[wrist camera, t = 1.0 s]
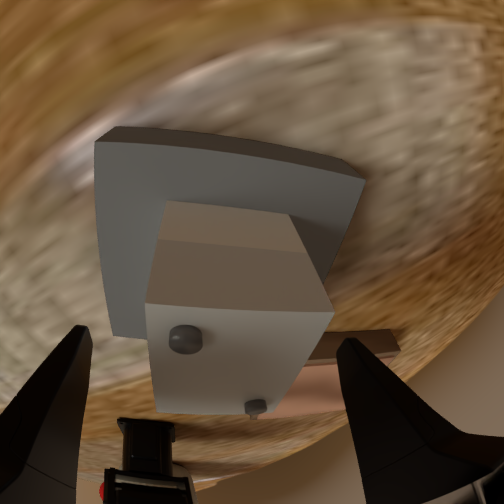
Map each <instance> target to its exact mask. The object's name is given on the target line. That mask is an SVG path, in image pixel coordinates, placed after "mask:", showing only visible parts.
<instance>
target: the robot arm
mask: <svg viewBox="0 0 504 504" xmlns="http://www.w3.org/2000/svg"><path fill="white" fill-rule="evenodd" d="M92 348H93V343H92V339H91V335H90V332H89V329H88V327H87V326H83V325H75V326H74V327H73V328H72V329H71V331H70V332H69V333H68V334H67V335H66V336H65V337H64V338H63V339H62V341H61V342H60V343H59V344H58V345H57V346H56V347H55V349H54V350H53V351H52V352H51V353H50V354H49V355H48V357H47V358H46V359H45V360H44V361H43V363H42V364H41V365H40V366H39V367H38V368H37V370H36V371H35V372H34V373H33V375H32V376H31V377H30V378H29V379H28V381H27V382H26V383H25V384H24V386H23V387H22V388H21V389H20V391H19V392H18V393H17V396H15V397H14V398H13V400H12V401H11V402H10V403H9V405H8V406H7V407H6V408H5V410H4V411H3V412H2V413H1V414H0V504H76V482H77V468H78V457H79V447H80V439H81V431H82V424H83V417H84V411H85V405H86V400H87V394H88V388H89V378H90V366H91V357H92ZM336 360H337V366H338V373H339V380H340V386H341V392H342V396H343V400H344V404H345V408H346V412H347V416H348V420H349V424H350V428H351V433H352V437H353V441H354V446H355V450H356V454H357V459H358V463H359V469H360V473H361V477H362V484H363V489H364V494H365V498H366V504H504V437H496V436H486V435H485V436H484V435H476V434H468V433H465V432H463V431H461V430H459V429H457V428H456V427H455V426H453V425H452V424H451V423H450V422H448V421H447V420H446V419H445V418H443V417H442V416H441V415H439V414H438V413H437V412H436V411H434V410H433V409H432V408H431V407H430V406H429V405H428V404H427V403H426V402H424V401H423V400H422V399H421V398H420V397H419V396H417V394H416V393H415V392H414V391H413V390H412V389H411V388H409V387H408V386H407V385H406V384H405V383H404V382H403V381H402V380H401V379H400V378H399V377H398V376H397V375H396V374H395V373H394V372H392V371H391V370H390V369H389V368H388V367H387V366H386V365H385V364H384V363H383V362H382V361H381V360H380V359H379V358H378V357H377V356H375V355H374V354H373V353H372V352H371V351H370V350H369V349H368V348H367V347H366V346H365V345H364V344H363V343H362V342H360V341H359V340H358V339H357V338H356V337H347V338H345V339H344V340H343V342H342V343H341V345H340V346H339V348H338V349H337V351H336ZM117 424H118V426H119V428H120V429H121V431H122V433H123V435H124V436H123V461H122V470H118V469H115V468H111V467H110V469H105V472H104V492H103V504H193V500H192V495H191V490H190V484H189V479H188V477H173V465H172V443H173V442H175V427H174V424H169V423H156V422H145V421H136V420H127V419H117ZM116 479H119V480H125V481H131V482H138V483H145V484H154V485H164V486H176V488H167V487H156V486H147V485H139V484H132V483H126V482H121V483H119V482H116Z"/></svg>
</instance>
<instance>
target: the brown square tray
mask: <svg viewBox="0 0 504 504" xmlns="http://www.w3.org/2000/svg"><path fill="white" fill-rule="evenodd" d="M347 337H356V338H357V339H358V340H359V341H360V342H362V343H363V344H364V345H365V346H366V347H367V348H368V349H369V350H370V351H371V352H372V353H373V354H374V355H375V356H377V357H378V358H379V359H380V360H381V361H382V362H383V363H384V364H385V365H386V366H387V367H388V365H389V364H390V363H391V362H392V361H393V360H394V359H395V357H396V356H397V355H398V354H399V353H400V351H401V349H400V347H399V345H398V344H397V342H396V340H395V338H394V336H393V334H392V333H391V331H390V329H387V330H373V331H355V332H332V333H323V335H322V337H321V338H320V340H319V342H318V343H317V345H316V347H315V348H314V350H313V352H312V353H311V355H310V357H309V358H308V360H307V361H306V363H305V365H304V366H303V368H302V369H301V371H300V373H299V374H298V376H297V377H296V379H295V380H294V382H293V383H292V385H291V387H290V388H289V390H288V391H287V393H286V394H285V396H284V397H283V399H282V400H281V401H280V403H279V404H278V406H277V407H276V409H275V410H274V412H273V413H262V414H258V415H250V420H258V419H273V418H284V417H294V416H303V415H311V414H318V413H325V412H331V411H337V410H343V409H346V408H345V404H344V400H343V396H342V392H341V386H340V380H339V373H338V366H337V360H336V351H337V349H338V348H339V346H340V345H341V343H342V342H343V340H344V339H345V338H347Z"/></svg>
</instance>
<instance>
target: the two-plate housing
mask: <svg viewBox="0 0 504 504" xmlns="http://www.w3.org/2000/svg"><path fill="white" fill-rule="evenodd" d="M334 314H335V310H334V308H333V306H332V304H331V302H330V299H329V297H328V295H327V293H326V291H325V289H324V287H323V284H322V282H321V280H320V278H319V276H318V274H317V272H316V270H315V268H314V265H313V263H312V261H311V259H310V257H309V255H308V253H307V251H306V249H305V247H304V245H303V243H302V241H301V239H300V237H299V235H298V233H297V231H296V229H295V227H294V225H293V223H292V221H291V219H290V217H289V215H288V214H282V213H275V212H267V211H259V210H251V209H243V208H235V207H226V206H217V205H208V204H199V203H189V202H179V201H169V200H167V202H166V206H165V210H164V214H163V218H162V222H161V226H160V230H159V235H158V239H157V243H156V248H155V253H154V257H153V262H152V267H151V272H150V277H149V282H148V288H147V293H146V299H145V315H146V329H147V340H148V350H149V360H150V368H151V376H152V384H153V391H154V398H155V404H156V411H157V412H162V413H177V414H204V415H231V414H248V415H258V414H262V413H273V412H274V410H275V409H276V407H277V406H278V404H279V403H280V401H281V400H282V399H283V397H284V396H285V394H286V393H287V391H288V390H289V388H290V387H291V385H292V383H293V382H294V380H295V379H296V377H297V376H298V374H299V373H300V371H301V369H302V368H303V366H304V365H305V363H306V361H307V360H308V358H309V357H310V355H311V353H312V352H313V350H314V348H315V347H316V345H317V343H318V342H319V340H320V338H321V337H322V335H323V333H324V331H325V330H326V328H327V326H328V324H329V323H330V321H331V319H332V317H333V315H334Z"/></svg>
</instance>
